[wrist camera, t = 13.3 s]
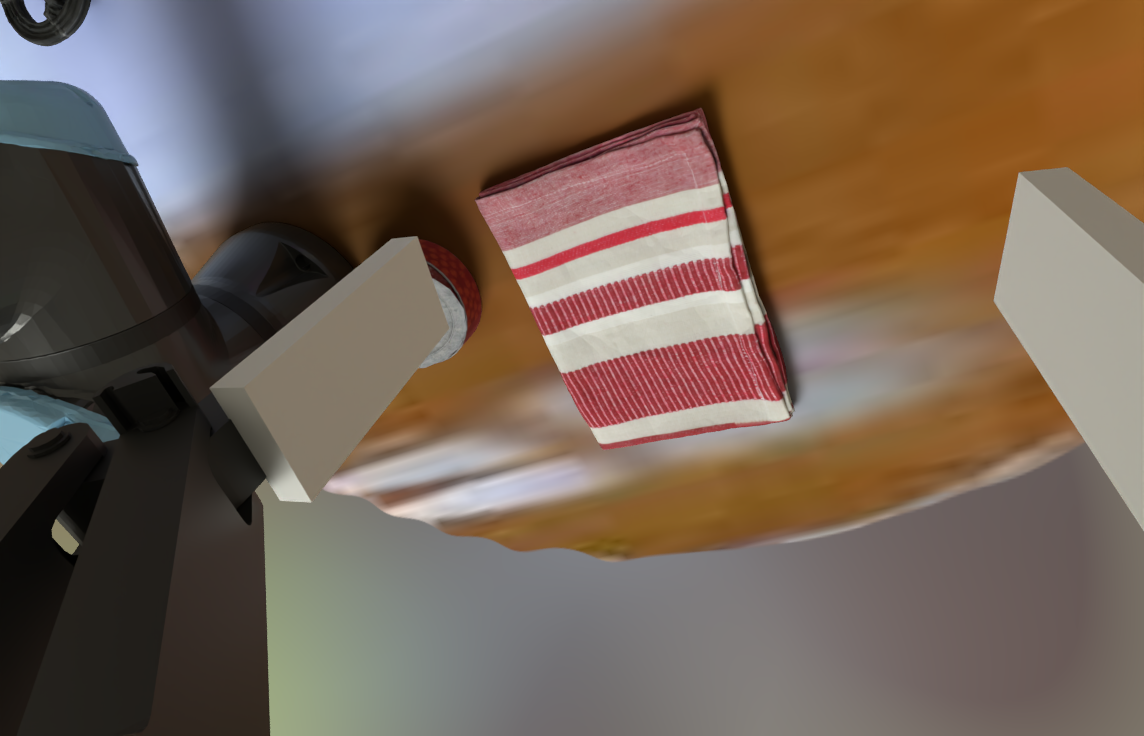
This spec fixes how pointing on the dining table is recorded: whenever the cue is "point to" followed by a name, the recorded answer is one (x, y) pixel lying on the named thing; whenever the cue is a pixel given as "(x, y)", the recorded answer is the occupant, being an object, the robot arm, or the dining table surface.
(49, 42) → the milk frother
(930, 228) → the dining table surface
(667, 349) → the dish towel
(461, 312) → the canned food
